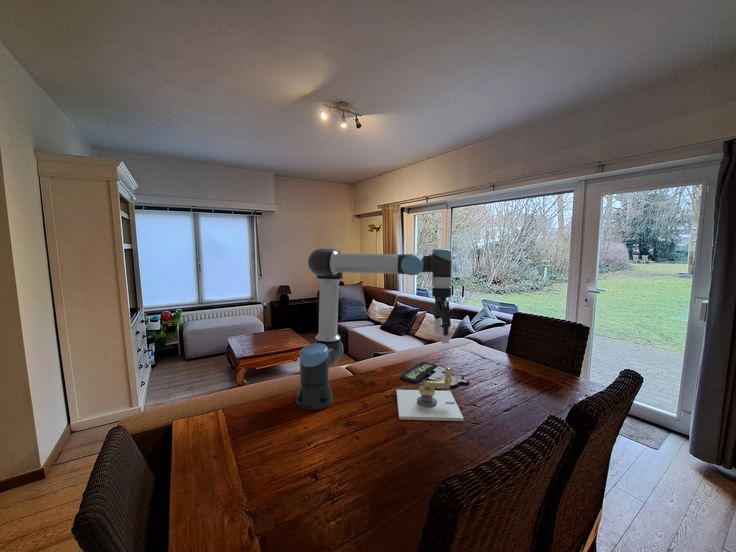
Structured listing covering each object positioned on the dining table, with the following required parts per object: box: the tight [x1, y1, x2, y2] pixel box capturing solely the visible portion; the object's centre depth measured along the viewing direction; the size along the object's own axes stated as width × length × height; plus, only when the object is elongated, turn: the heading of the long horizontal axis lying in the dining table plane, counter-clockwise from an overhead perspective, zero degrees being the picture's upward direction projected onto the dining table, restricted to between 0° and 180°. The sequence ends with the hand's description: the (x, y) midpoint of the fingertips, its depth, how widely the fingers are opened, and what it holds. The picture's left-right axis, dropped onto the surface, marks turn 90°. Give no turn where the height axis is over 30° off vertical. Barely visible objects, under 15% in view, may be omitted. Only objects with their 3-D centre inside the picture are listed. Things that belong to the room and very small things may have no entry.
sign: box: [399, 361, 470, 391], centre depth 149 cm, size 27×2×30 cm
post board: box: [396, 389, 465, 422], centre depth 122 cm, size 24×22×5 cm
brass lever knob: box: [418, 366, 452, 397], centre depth 121 cm, size 13×6×11 cm, turn 87°
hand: (441, 338), depth 122 cm, fingers open, 13 cm apart
